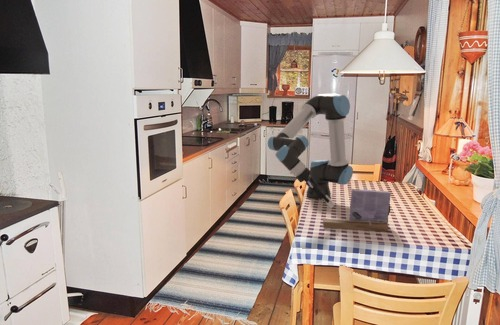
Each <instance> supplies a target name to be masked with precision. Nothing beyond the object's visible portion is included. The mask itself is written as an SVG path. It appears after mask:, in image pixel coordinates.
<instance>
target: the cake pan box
mask: <svg viewBox="0 0 500 325" xmlns="http://www.w3.org/2000/svg"><path fill="white" fill-rule="evenodd" d="M391 194H392V193H391V192H390V191H388V190H387V191H385V190H372V189H360V188H358V189H357V188H352V189H351V196H350V206H349V217H348V218H349V219H348V220H357V221H372V222H386V223H387V225H388V224H389V216H390V212H391V204H390V202H391ZM388 226H389V225H388Z"/></svg>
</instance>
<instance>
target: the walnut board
mask: <svg viewBox="0 0 500 325" xmlns="http://www.w3.org/2000/svg"><path fill="white" fill-rule="evenodd" d="M322 219H323V221H322V226H323V228H325V229H335V230H336V229H337V230H338V229H340V230H352V231H354V230H356V231H367V232H368V231H369V232H379V233H380V232H384V233H388V232H389V230H388V229H389V225H387V223H386V222H372V221H357V220H349V219H341V218H339V219H338V218H322Z"/></svg>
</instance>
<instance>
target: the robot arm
mask: <svg viewBox="0 0 500 325" xmlns="http://www.w3.org/2000/svg"><path fill="white" fill-rule="evenodd" d="M350 110H351V104H350V100H349V98H348V97H347V95H344V94H340V93H339V94H338V93H321V94H316V95H315V96H312V97H311V98H309V99H308V100H307V101H306V102H305V103H303V104H302V106H301V108H300V110H299V112H297V114H296V115H295V116H294V117H293V118H292V119H291V120H290V121H289V122H288V123H287V124H286V126H284V128H283V129H282V130H281V131H280V132H279V133H278V134H277V135H276V136H275V135H273V136H270V137H269V139H268V141H267V148H268V149H270V150H272V151H274V152H275V151H276V152H275V157H276V158H277V159H278V161H279V162H280V163H281V164H282V165H283V166H284V167H285V168H286V169H287V170H288V171H289V174H290V175H292V176H294V177H296V180H297V181H299V183H302V182H305V185H306V186H308V187H307V190H306V196H307V197H308V198H312V199H317V200H323V202H324V203H325V204H326V205H327V206H328V207H329V208H330V209H332V208H333V207H334V206H335V205H336V204H335V202H334V201H333V200H332V199H331V196H332V193H331V189H330V186H329V183H332V184H333V183H334V184H338V185H347V184H349V183H350V181H351V179H352V177H353V174H354V169H353V166H351V165H349V164H350V163H349V161H348V159H347V158H346V142H345V138H346V137H345V125H344V123H345V122H344V121H345V120H346V119H347V116H348V114H349V113H350ZM318 115H324V117H325V120H326V121H327V123H328V137H329V138H328V139H329V153H330V159H317V160H316V159H315V160H314V159H313V160H312V161H311V162H310V167H309V168H310V169H309V168H308V167H306V164H305V163H304V162H303V161H302V160H301V159H300V158H299V157H300V156H301V155H302V154H303V153H304V151H306V150H307V148H308V147H309V146H310V142H309V140H308V138H307V137H306V136H304V135H298V134H299V133H300V131H301V130H302V129H303V128H304V127H305V126H306V125H307V124H308V122H310V120H312V119H314V118H315V117H316V116H318Z"/></svg>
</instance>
